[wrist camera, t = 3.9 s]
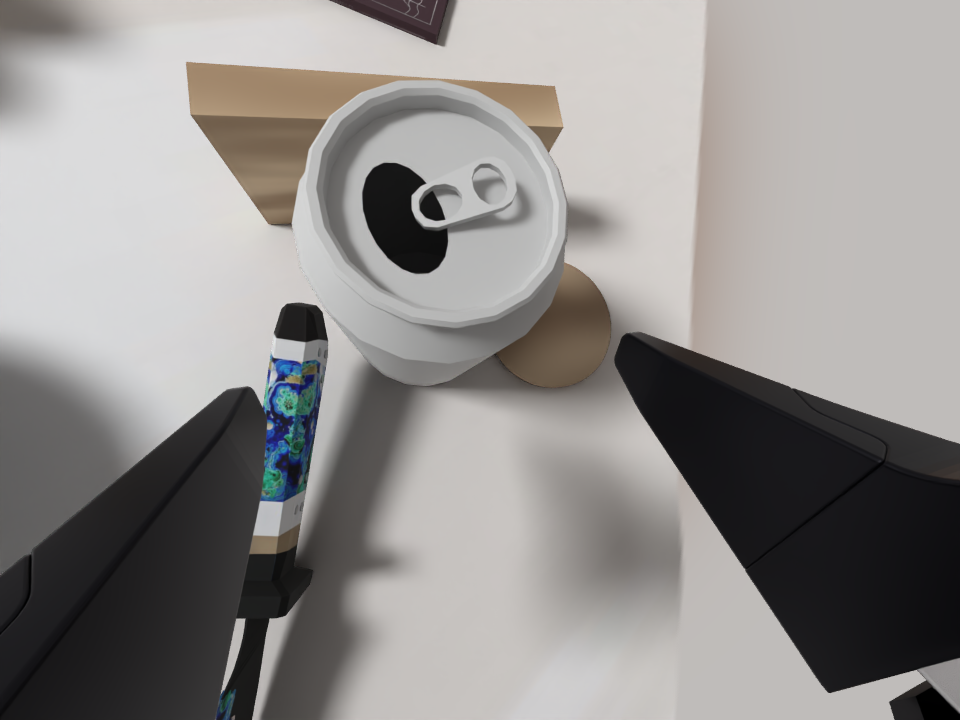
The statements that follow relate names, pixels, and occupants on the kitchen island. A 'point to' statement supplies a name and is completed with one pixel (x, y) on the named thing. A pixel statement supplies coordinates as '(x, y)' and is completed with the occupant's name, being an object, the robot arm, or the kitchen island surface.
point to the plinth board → (310, 120)
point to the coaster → (563, 336)
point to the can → (430, 227)
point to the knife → (279, 494)
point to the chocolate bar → (404, 14)
